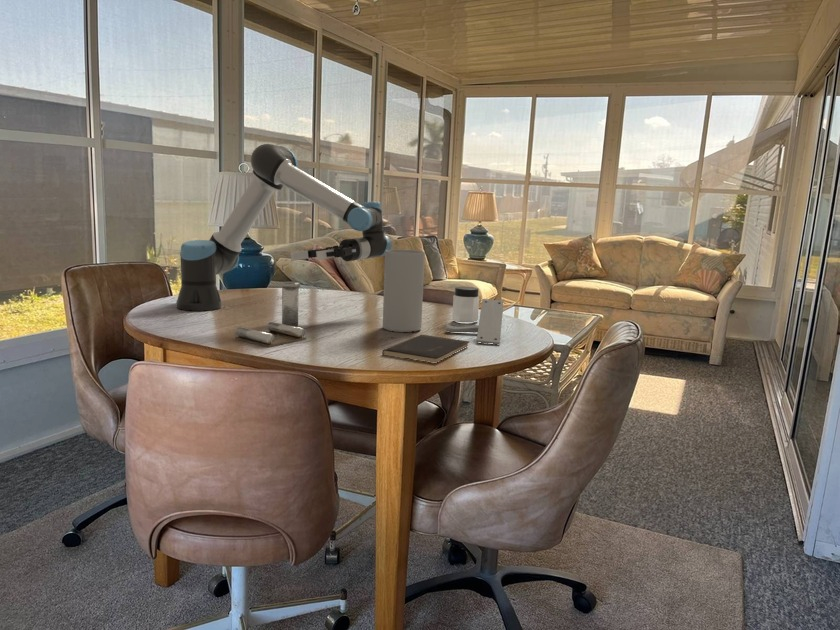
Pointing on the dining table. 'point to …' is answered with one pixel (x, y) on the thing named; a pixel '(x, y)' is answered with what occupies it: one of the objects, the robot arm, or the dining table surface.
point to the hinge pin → (290, 303)
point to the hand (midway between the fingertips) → (303, 256)
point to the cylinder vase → (403, 290)
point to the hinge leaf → (271, 335)
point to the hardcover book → (426, 348)
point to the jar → (465, 304)
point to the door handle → (485, 322)
